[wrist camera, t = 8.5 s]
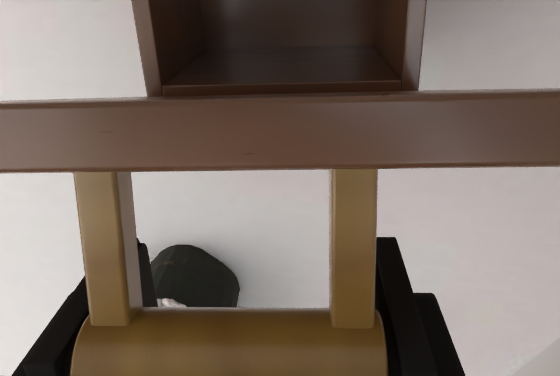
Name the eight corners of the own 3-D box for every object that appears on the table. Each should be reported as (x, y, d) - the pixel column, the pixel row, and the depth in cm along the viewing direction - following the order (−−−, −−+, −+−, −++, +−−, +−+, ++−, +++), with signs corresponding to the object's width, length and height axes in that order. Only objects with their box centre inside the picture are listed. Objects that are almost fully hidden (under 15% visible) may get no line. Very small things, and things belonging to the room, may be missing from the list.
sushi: (204, 336, 43) (183, 412, 35) (127, 288, 41) (88, 358, 33) (257, 283, 40) (247, 354, 32) (177, 228, 38) (146, 291, 30)
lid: (-351, 111, 5) (-235, 501, 6) (814, 84, 5) (721, 537, 6) (143, 96, 21) (153, 209, 22) (420, 90, 21) (416, 208, 22)
